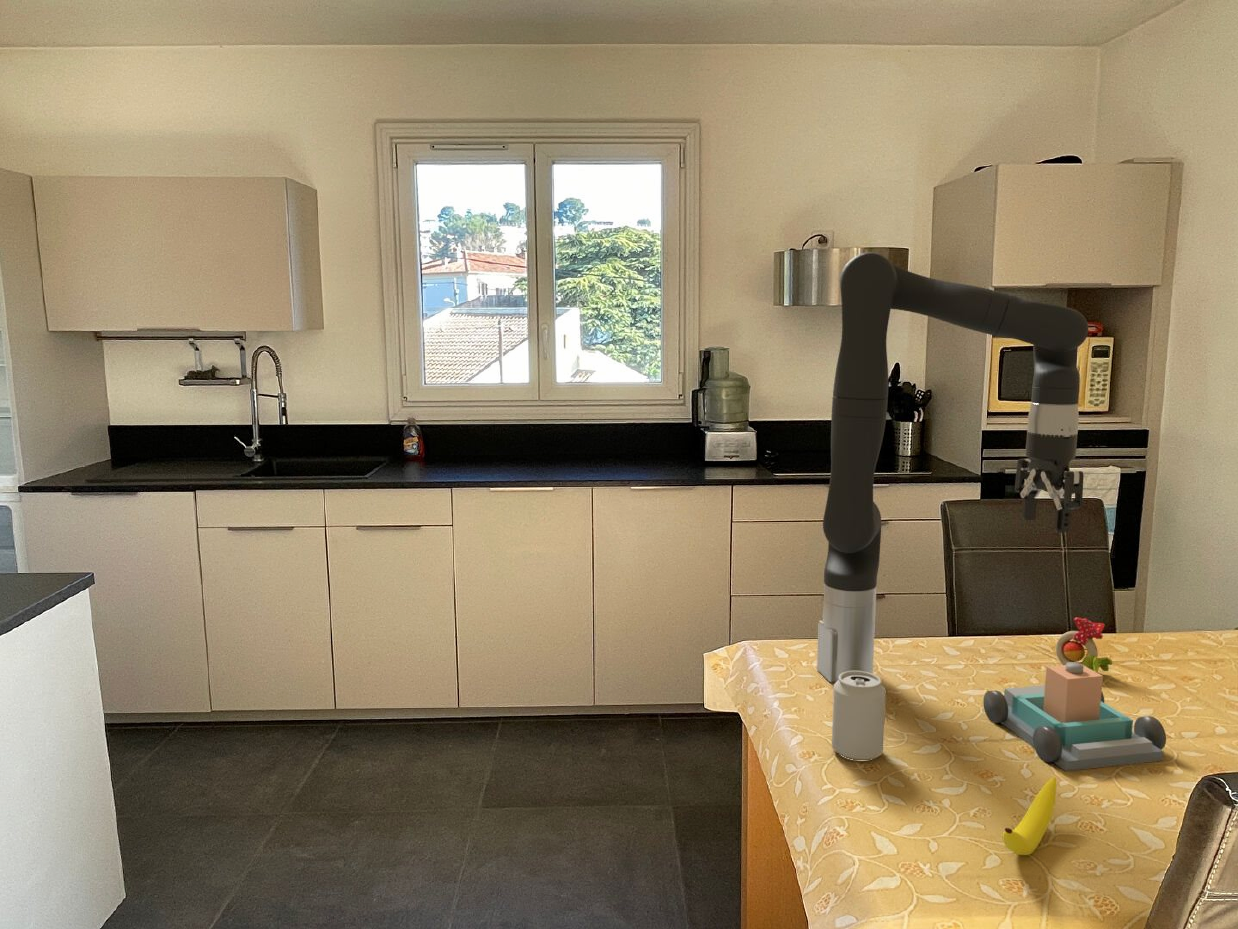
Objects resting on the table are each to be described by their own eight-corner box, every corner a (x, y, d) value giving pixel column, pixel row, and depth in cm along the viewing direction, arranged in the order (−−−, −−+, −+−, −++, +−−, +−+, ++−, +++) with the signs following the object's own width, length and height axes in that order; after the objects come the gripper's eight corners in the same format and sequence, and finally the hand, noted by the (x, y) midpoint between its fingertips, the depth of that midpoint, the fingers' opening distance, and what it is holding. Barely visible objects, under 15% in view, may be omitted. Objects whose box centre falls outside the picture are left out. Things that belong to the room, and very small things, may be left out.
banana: (1063, 815, 118) (1067, 770, 117) (1017, 884, 104) (1021, 834, 103) (1040, 807, 120) (1044, 763, 119) (991, 874, 106) (995, 825, 105)
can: (884, 745, 138) (887, 671, 136) (881, 768, 131) (884, 690, 129) (834, 738, 140) (836, 665, 138) (829, 760, 133) (831, 684, 131)
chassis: (1057, 772, 129) (1060, 739, 128) (979, 712, 149) (980, 683, 148) (1169, 760, 132) (1172, 728, 132) (1078, 703, 152) (1080, 675, 151)
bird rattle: (1060, 686, 164) (1111, 680, 157) (1039, 627, 165) (1089, 618, 159) (1072, 676, 168) (1122, 670, 162) (1051, 619, 170) (1100, 610, 163)
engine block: (1063, 734, 137) (1068, 673, 136) (1042, 720, 142) (1046, 660, 140) (1098, 731, 138) (1103, 669, 137) (1076, 717, 143) (1080, 657, 142)
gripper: (1005, 425, 154) (999, 517, 157) (1060, 436, 141) (1051, 537, 143) (1045, 424, 156) (1037, 515, 158) (1102, 435, 142) (1093, 535, 145)
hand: (1044, 525), depth 151 cm, fingers open, 8 cm apart
